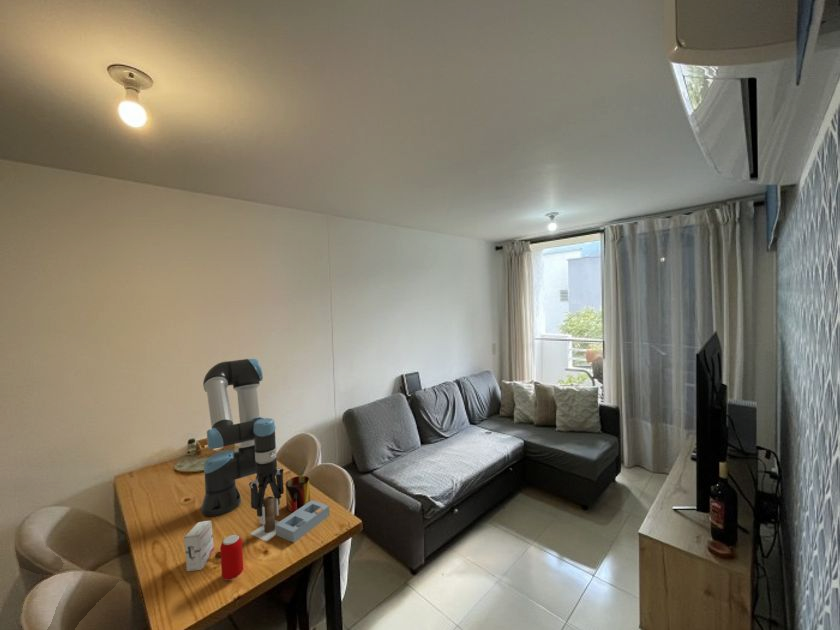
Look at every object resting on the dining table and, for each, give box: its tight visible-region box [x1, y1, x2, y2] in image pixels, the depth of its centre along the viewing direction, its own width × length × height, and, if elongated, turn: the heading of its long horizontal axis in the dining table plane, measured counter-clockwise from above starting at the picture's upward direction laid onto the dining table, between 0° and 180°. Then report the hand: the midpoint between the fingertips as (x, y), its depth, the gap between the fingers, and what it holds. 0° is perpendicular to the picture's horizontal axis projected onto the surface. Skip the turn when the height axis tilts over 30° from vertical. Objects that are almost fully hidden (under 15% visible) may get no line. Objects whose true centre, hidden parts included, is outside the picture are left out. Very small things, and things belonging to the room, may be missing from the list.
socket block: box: [275, 499, 330, 544], centre depth 133 cm, size 10×18×5 cm, turn 151°
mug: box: [285, 475, 311, 514], centre depth 144 cm, size 10×14×12 cm
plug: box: [263, 495, 276, 533], centre depth 131 cm, size 4×4×12 cm
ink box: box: [183, 520, 215, 572], centre depth 116 cm, size 9×5×12 cm, turn 5°
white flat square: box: [249, 519, 280, 542], centre depth 131 cm, size 10×10×1 cm
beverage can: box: [219, 534, 244, 581], centre depth 110 cm, size 6×6×12 cm
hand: (269, 518), depth 131 cm, fingers open, 5 cm apart
